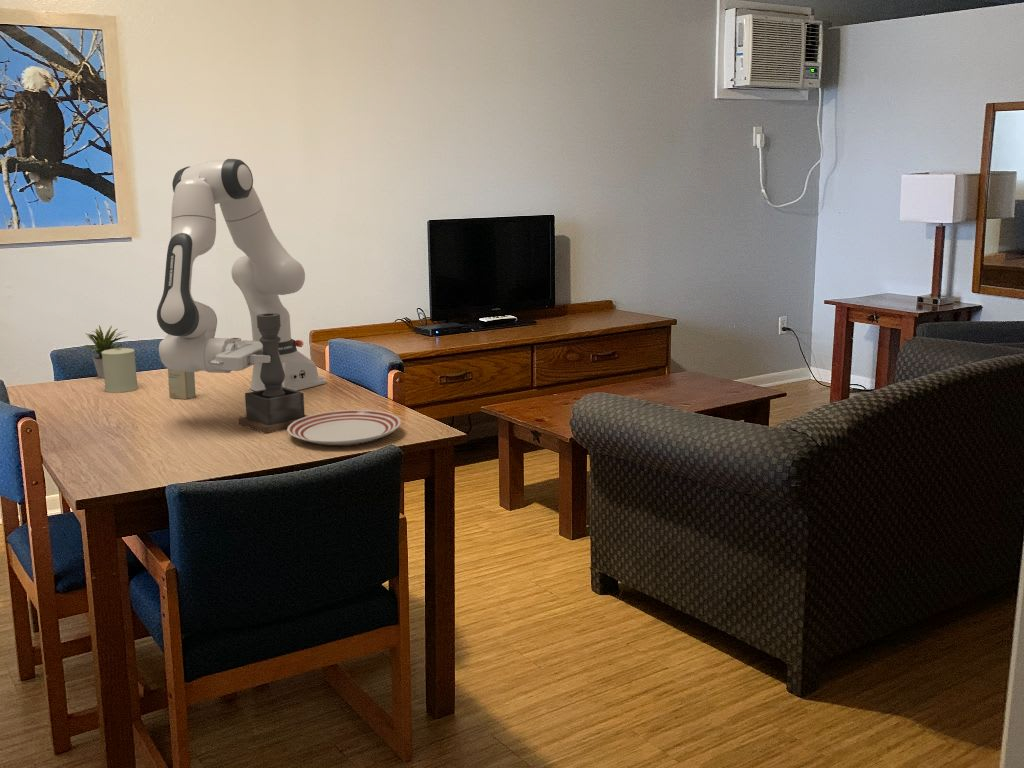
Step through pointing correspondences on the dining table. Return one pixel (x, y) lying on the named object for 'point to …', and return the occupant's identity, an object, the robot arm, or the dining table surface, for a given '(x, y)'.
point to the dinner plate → (344, 427)
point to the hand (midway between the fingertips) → (274, 356)
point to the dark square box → (272, 410)
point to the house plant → (102, 347)
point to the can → (119, 370)
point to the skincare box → (181, 384)
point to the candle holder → (273, 370)
